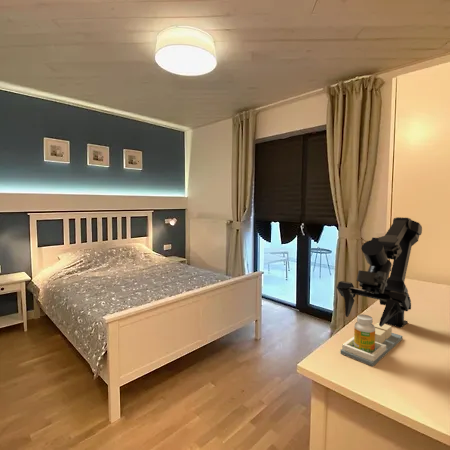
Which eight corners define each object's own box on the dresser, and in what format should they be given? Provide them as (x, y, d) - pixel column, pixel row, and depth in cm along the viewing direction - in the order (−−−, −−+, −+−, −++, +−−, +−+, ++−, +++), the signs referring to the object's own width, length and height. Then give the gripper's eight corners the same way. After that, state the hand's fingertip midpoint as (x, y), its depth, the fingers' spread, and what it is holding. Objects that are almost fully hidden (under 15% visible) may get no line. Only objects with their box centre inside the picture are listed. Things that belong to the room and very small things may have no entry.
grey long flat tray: (372, 329, 97) (372, 318, 97) (402, 338, 90) (402, 326, 90) (340, 353, 83) (340, 340, 82) (372, 366, 76) (373, 352, 76)
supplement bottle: (359, 355, 80) (360, 321, 79) (350, 345, 85) (351, 313, 84) (378, 354, 80) (379, 320, 79) (368, 344, 85) (369, 313, 84)
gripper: (339, 255, 90) (321, 298, 83) (408, 264, 76) (393, 316, 70) (349, 275, 96) (334, 316, 89) (414, 286, 82) (402, 336, 76)
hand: (362, 320), depth 81 cm, fingers open, 9 cm apart
